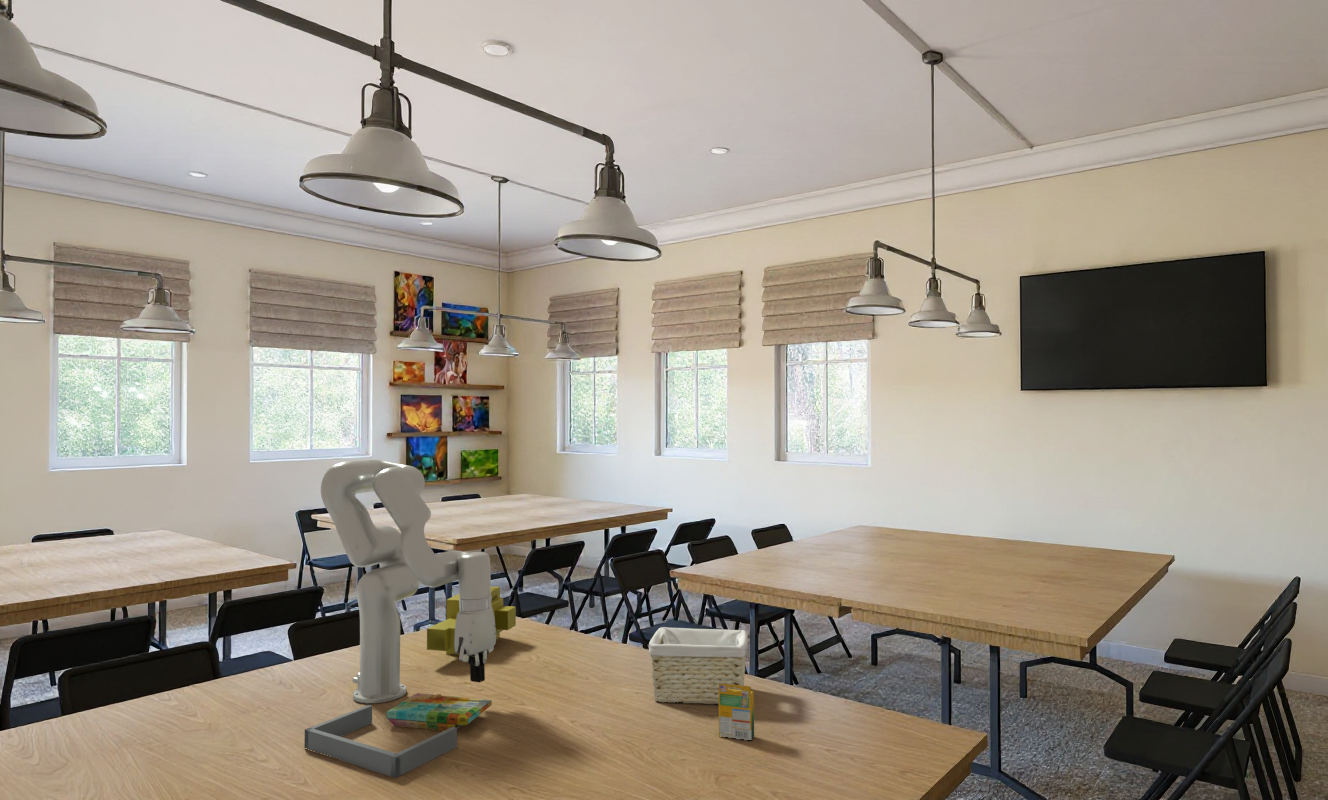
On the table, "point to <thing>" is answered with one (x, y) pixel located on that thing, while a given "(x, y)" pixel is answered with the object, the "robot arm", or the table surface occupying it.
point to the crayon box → (736, 712)
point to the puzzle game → (436, 711)
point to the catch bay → (369, 757)
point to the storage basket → (696, 663)
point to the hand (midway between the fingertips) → (477, 680)
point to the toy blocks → (444, 631)
